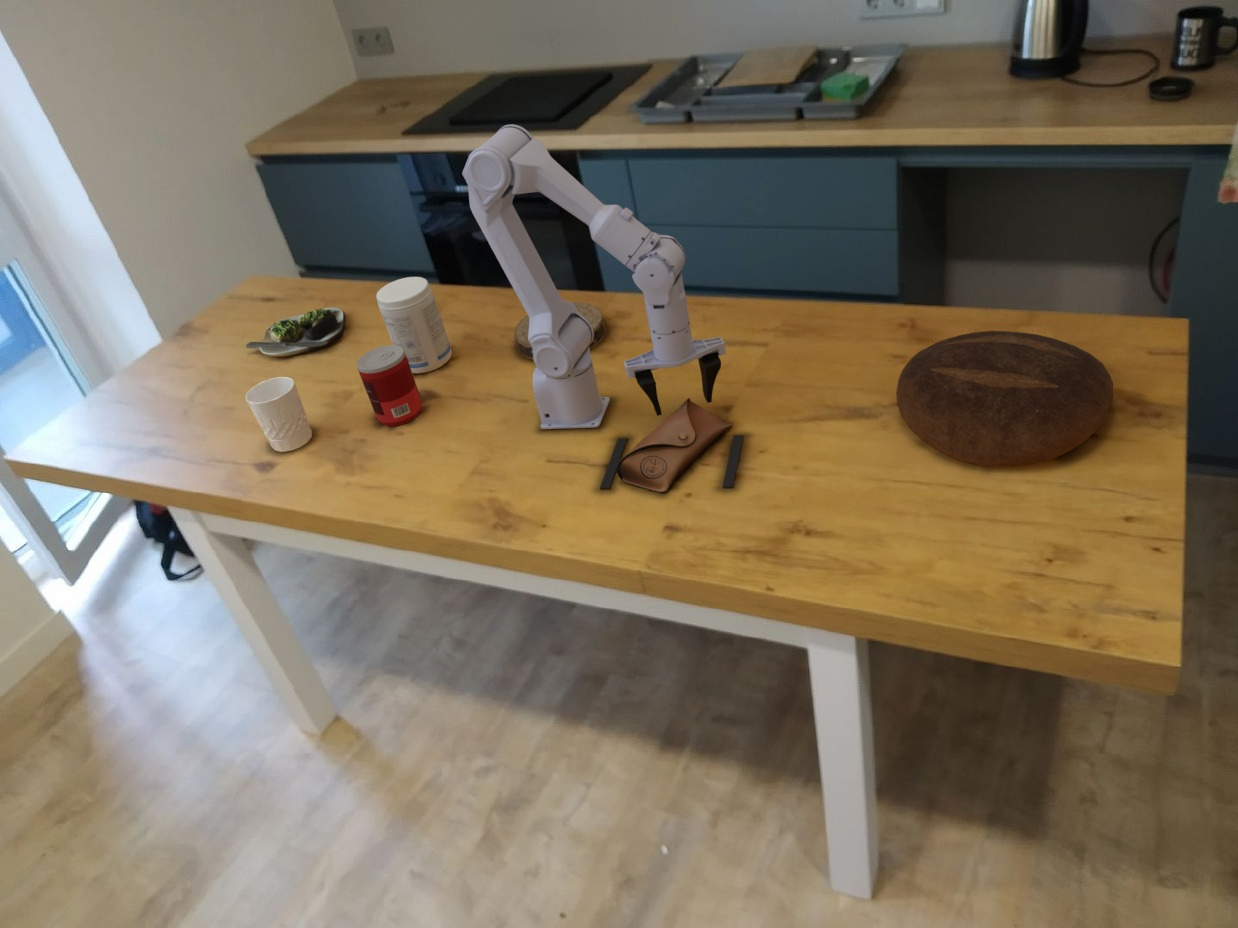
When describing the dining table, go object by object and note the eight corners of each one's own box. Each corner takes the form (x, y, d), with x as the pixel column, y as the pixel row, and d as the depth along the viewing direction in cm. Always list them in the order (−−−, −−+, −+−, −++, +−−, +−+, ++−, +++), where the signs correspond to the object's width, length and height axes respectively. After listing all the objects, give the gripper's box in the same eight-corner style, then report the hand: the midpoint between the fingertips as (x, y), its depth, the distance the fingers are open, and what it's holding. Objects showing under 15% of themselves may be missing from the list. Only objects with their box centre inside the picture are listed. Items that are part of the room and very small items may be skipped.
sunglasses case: (667, 493, 133) (639, 453, 131) (635, 502, 138) (609, 464, 137) (736, 422, 143) (711, 384, 142) (704, 434, 149) (680, 398, 147)
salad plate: (243, 373, 188) (233, 352, 185) (256, 331, 203) (247, 311, 200) (342, 349, 188) (334, 328, 186) (348, 310, 203) (341, 289, 200)
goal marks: (600, 489, 137) (599, 487, 137) (618, 439, 146) (618, 438, 146) (733, 488, 132) (732, 486, 132) (743, 436, 141) (743, 434, 141)
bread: (928, 347, 151) (928, 296, 146) (1125, 367, 138) (1133, 311, 133) (868, 452, 133) (866, 398, 128) (1089, 487, 119) (1096, 428, 114)
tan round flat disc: (545, 314, 185) (541, 300, 183) (620, 319, 178) (617, 304, 176) (501, 357, 174) (497, 342, 172) (579, 364, 167) (576, 349, 165)
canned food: (432, 402, 165) (413, 345, 159) (405, 429, 160) (384, 371, 153) (396, 399, 169) (375, 343, 162) (368, 425, 163) (346, 368, 157)
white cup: (273, 460, 159) (249, 408, 154) (265, 439, 165) (241, 389, 160) (320, 441, 162) (298, 390, 156) (310, 421, 168) (288, 371, 162)
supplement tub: (439, 343, 183) (416, 270, 175) (462, 359, 176) (439, 284, 168) (392, 364, 179) (366, 291, 171) (414, 381, 173) (388, 306, 164)
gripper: (711, 300, 142) (723, 380, 150) (614, 325, 141) (630, 404, 149) (724, 321, 136) (735, 403, 144) (623, 347, 135) (639, 428, 143)
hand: (683, 405), depth 146 cm, fingers open, 7 cm apart
